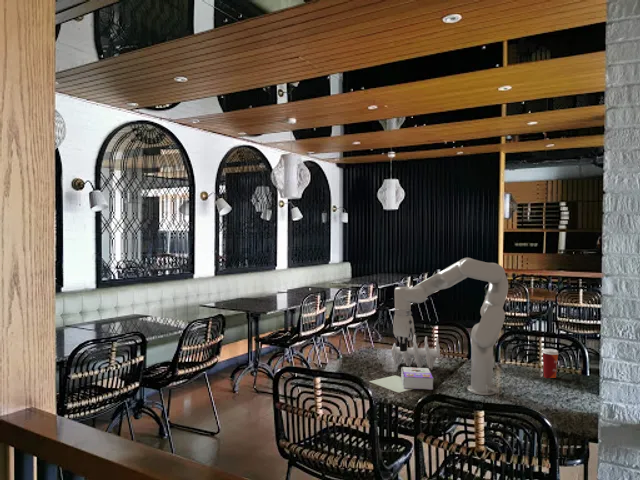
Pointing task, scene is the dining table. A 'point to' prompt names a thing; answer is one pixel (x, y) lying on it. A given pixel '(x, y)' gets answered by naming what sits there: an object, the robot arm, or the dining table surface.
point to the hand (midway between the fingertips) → (403, 350)
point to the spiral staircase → (416, 354)
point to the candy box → (416, 378)
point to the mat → (391, 383)
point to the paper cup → (550, 362)
